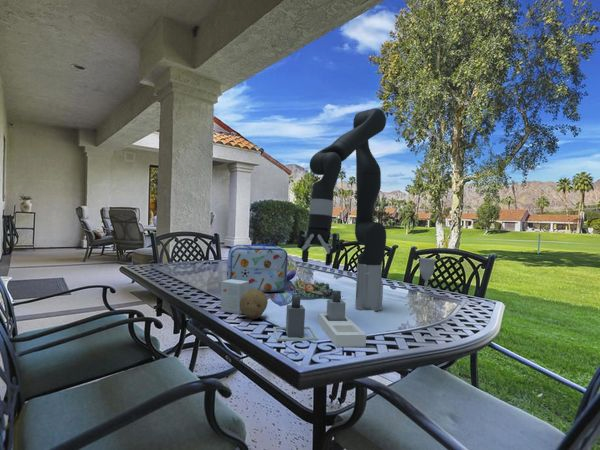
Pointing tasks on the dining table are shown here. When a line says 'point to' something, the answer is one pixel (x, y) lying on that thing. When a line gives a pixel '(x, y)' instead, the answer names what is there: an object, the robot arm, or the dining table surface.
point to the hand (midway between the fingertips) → (316, 263)
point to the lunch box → (258, 266)
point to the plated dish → (312, 290)
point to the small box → (232, 295)
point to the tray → (295, 338)
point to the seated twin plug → (336, 308)
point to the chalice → (426, 272)
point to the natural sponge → (253, 303)
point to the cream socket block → (342, 332)
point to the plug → (295, 318)
